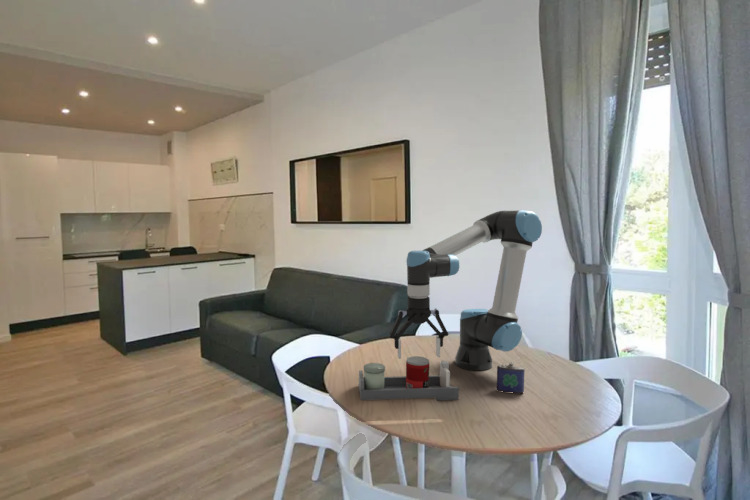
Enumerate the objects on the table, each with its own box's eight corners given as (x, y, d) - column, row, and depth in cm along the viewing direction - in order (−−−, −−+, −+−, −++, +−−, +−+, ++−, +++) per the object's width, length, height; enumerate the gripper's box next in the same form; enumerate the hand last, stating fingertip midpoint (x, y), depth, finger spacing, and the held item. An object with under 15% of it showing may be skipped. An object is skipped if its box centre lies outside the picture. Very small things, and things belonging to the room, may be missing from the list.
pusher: (443, 383, 154) (444, 357, 153) (450, 394, 145) (451, 366, 144) (438, 384, 153) (439, 358, 153) (444, 394, 145) (445, 366, 144)
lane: (449, 385, 155) (449, 367, 155) (458, 399, 144) (458, 379, 143) (358, 388, 152) (358, 369, 152) (360, 402, 141) (360, 382, 140)
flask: (523, 391, 151) (524, 362, 150) (524, 395, 148) (525, 365, 147) (496, 388, 153) (497, 359, 152) (496, 392, 150) (497, 362, 149)
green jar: (383, 387, 151) (383, 362, 150) (386, 396, 144) (386, 370, 143) (362, 388, 150) (362, 363, 149) (364, 397, 143) (364, 370, 142)
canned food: (428, 396, 144) (428, 364, 143) (404, 394, 145) (404, 362, 144) (429, 387, 151) (430, 357, 150) (407, 385, 153) (407, 355, 152)
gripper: (451, 292, 150) (451, 351, 152) (380, 295, 148) (381, 354, 150) (457, 297, 143) (457, 358, 145) (383, 299, 141) (384, 362, 143)
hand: (418, 356), depth 147 cm, fingers open, 13 cm apart
